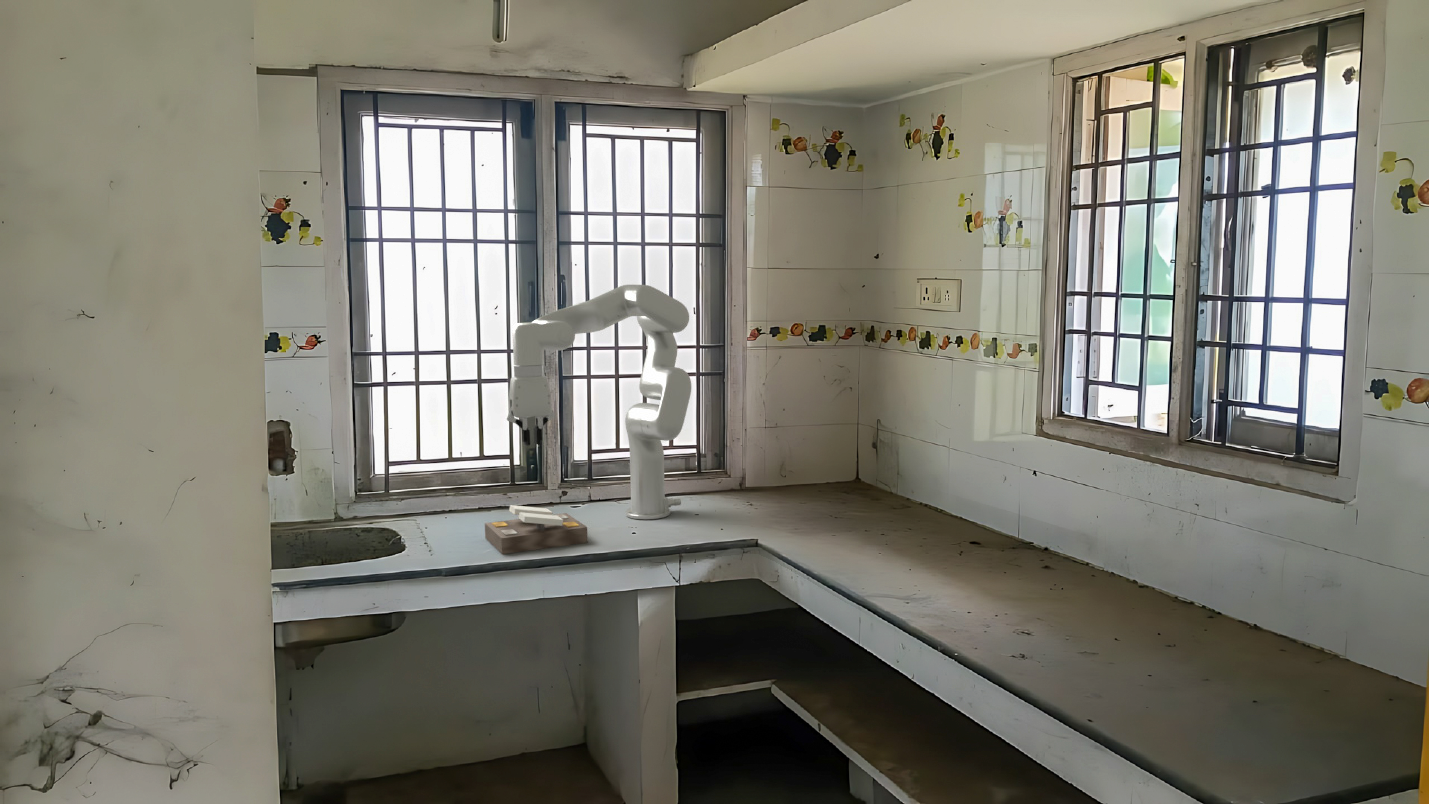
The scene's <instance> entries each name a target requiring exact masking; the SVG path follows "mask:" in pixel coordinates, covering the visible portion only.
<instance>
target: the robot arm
mask: <svg viewBox="0 0 1429 804" xmlns="http://www.w3.org/2000/svg"><path fill="white" fill-rule="evenodd" d="M630 317H636V320H637V324H638V325H639V327H640V329H641V330H642V331H643V333H644V336H645V339H646V344H647V347H646V348H647V349H646V353H645V359H644V364H643V366H642V372H641V374H640V379H639V385H638V387H639V391H640V393H641V395H642V396H643V397H644V398H647V399H652V400H656V401H659V404H657V403H650V402H649V403H648V402H638V403H636V404H633V405H632V406H630V407H629V408H628V411H626V413H625V420H624V422H625V423H624V424H625V430H626V433H627V438H628V446H629V447H628V449H629V471H630V473H629V475H630V476H629V477H630V481H629V482H630V507H629V508H627V509H626V510H625V516H626V517H628V518H631V519H635V520H656V519H658V520H659V519H662V518H667V517H668V516H670V515H671V509H670V508H671V507H674V506H676V507H677V506H681V505H682V500H681V498H679V497H678V498H672V497H671V498H668V497H666V496H665V495H666V494H665V493H666V492H665V490H666V488H665V453H664V452H665V451H664V446H663V444H662V441H666V442H667V441H672V440H674V439H676V438H677V437H678V436H679V435H680V434H681V431H682V429H683V426H684V423H685V418H686V416H687V411H688V408H689V403H690V398H691V394H692V380H691V377H690V375H689V374H688V372H687V371H686V370H684V369H683V368H680V367H676V363H677V357H678V344H677V340H676V338H675V336H674V334H677V333H680V332H682V331H684V330H685V329H686V328H687V326H688V324H689V323H690V313H689V311H688V309H687V307H686V306H685V304H683V303H682V302H681V301H680V300H678V299H676V298H674V297H672V296H670V295H669V294H666V293H665V292H663V291H661V290H660V289H658V288H655V287H653V286H651V285H647V284H623V285H620V286H618V287H615V288H613V289H611V290H609V291H607V292H604V293H602V294H600V295H598V296H596V297H594V298H591V299H589V300H586V301H582V302H579V303H576V304H574V305H571V306H567V307H564V308H560V309H557V310H554V311H551V312H549V313H546V314H544V315H543V316H540V317H538V318H536V319H535V320H533V321H531V322H518V323H515V324H514V325H513V327H512V350H513V351H512V353H513V354H512V355H513V372H514V373H513V374H514V377H511V378H510V382H509V391H508V392H509V395H508V414H507V417H506V421H508V422H510V423H512V424H516V426H518V427H519V428H520V429H521V441H522V443H524V445H526V446H529V447H530V445H531V436H530V435H531V432H530V429H529V426H528V418H534V419H535V421H534V423H535V424H534V427H533V443H534V444H535V445H541V441H542V440H543V435H542V434H543V432H542V429H543V427H544V426H545V425H546V424H547V423H548V421H551V420H553V419H555V418H556V414H555V413H554V410H553V407H552V405H553V404H552V396H551V388H550V382H549V380H548V376H546V373H547V372H550V371H551V367H550V365H548V366H547V365H546V364H545V351H547V350H550V351H551V350H552V351H563V350H567V349H569V348H570V347H571V346H572V345H573V344H574V342H575V339H576V335H580V334H589V333H595V332H600V331H603V330H606V329H607V328H609V327H611V326H613V325H616V324H618V323H619V322H621V321H624V320H626V319H628V318H630ZM518 418H519V419H518Z"/></svg>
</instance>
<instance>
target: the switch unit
mask: <svg viewBox="0 0 1429 804" xmlns="http://www.w3.org/2000/svg"><path fill="white" fill-rule="evenodd" d="M554 515H555V516H558V517H560V518H561V519H563V525H562V526H560V525H549V524H537V523H526V522H523V521H522V520H520V519H519V518H515V519H508V520H500V521H492V522H484V535H485V536H484V537H485V540H486V541H487V542H489V543H490V544H491V545H492V546H493V548H495V549H496V550H497V551H498V552H499V553H500V554H501V555H507V554H513V553H521V552H529V551H533V550H534V551H535V550H542V549H543V550H544V549H549V548H557V547H558V548H559V547H564V546H566V547H567V546H573V545H579V544H587V543H588V542H589V540H588V527H587V525H585V524H583V523H582V522H580V521H579V520H577V519H576V518H575V517H573V516H571V515H570V514H568V513H567V512H565V513H557V514H556V513H555V514H554Z"/></svg>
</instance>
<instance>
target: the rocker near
mask: <svg viewBox="0 0 1429 804" xmlns="http://www.w3.org/2000/svg"><path fill="white" fill-rule="evenodd" d="M518 519H520V520H522V521H523V522H526V523H537V524H549V525H560V526H562V525H563V519H561V518H560V517H558V516H555V514H552V515H544V514H533V513H522V512H520V513H519V515H518Z"/></svg>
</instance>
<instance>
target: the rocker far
mask: <svg viewBox="0 0 1429 804" xmlns="http://www.w3.org/2000/svg"><path fill="white" fill-rule="evenodd" d="M509 512H510V513H512V514H513V515H516V516H519V513H520V512H522V513H533V514H544V515H553V513H554V512H553V511H551V510H550V509H548V508H546V507H535V506H523V505H516V504H515V505H513V504H510V505H509Z"/></svg>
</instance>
